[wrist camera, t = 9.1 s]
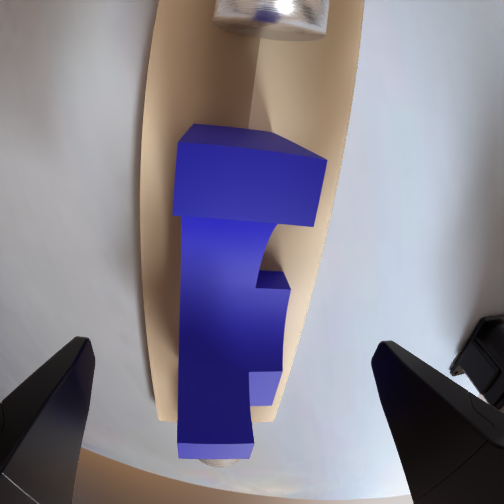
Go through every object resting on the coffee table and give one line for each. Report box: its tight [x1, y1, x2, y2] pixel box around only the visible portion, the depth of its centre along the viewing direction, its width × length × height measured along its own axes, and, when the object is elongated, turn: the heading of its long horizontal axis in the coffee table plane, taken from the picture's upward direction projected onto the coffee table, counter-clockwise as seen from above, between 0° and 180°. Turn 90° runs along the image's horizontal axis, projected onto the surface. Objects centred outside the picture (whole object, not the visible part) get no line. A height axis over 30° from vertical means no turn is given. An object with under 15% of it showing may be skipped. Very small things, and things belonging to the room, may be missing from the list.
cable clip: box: [173, 124, 328, 459], centre depth 11 cm, size 12×4×6 cm, turn 172°
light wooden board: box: [140, 0, 364, 422], centre depth 14 cm, size 8×25×1 cm, turn 173°
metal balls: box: [199, 0, 330, 467], centre depth 12 cm, size 4×25×4 cm, turn 173°
